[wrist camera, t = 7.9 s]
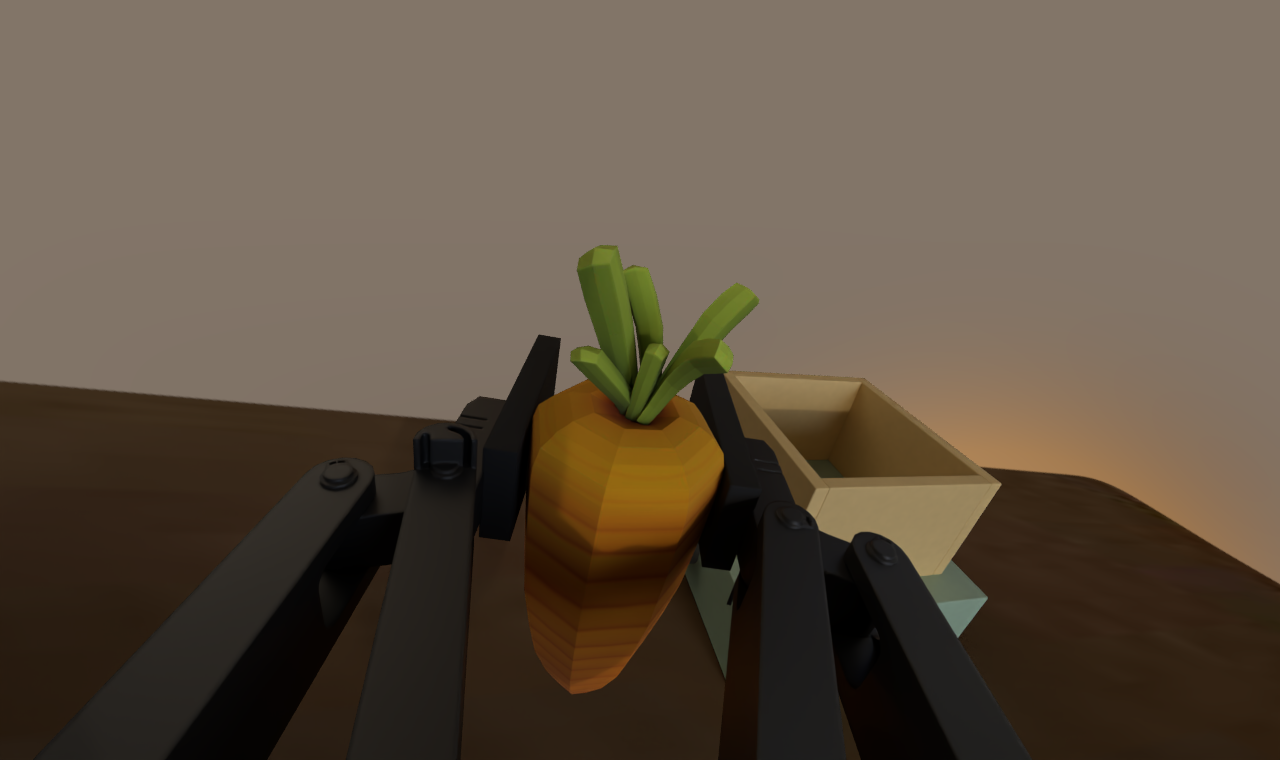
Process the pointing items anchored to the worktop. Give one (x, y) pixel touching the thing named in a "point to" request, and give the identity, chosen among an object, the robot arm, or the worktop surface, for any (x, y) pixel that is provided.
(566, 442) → the carrot
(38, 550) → the worktop surface
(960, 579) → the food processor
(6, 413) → the worktop surface
